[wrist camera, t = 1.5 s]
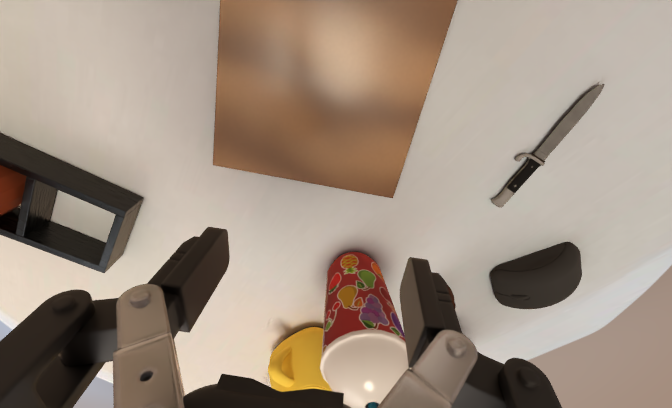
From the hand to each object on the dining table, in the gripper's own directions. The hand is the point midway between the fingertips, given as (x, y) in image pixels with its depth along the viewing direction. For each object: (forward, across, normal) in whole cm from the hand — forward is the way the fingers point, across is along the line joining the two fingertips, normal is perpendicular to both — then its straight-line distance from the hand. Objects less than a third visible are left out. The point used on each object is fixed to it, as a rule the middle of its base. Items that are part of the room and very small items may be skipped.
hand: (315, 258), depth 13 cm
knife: (+24, -21, 0) cm, 32 cm away
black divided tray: (+16, +31, +10) cm, 36 cm away
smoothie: (+20, -3, +18) cm, 27 cm away
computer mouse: (+24, -27, +16) cm, 40 cm away
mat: (+21, +3, -4) cm, 21 cm away
